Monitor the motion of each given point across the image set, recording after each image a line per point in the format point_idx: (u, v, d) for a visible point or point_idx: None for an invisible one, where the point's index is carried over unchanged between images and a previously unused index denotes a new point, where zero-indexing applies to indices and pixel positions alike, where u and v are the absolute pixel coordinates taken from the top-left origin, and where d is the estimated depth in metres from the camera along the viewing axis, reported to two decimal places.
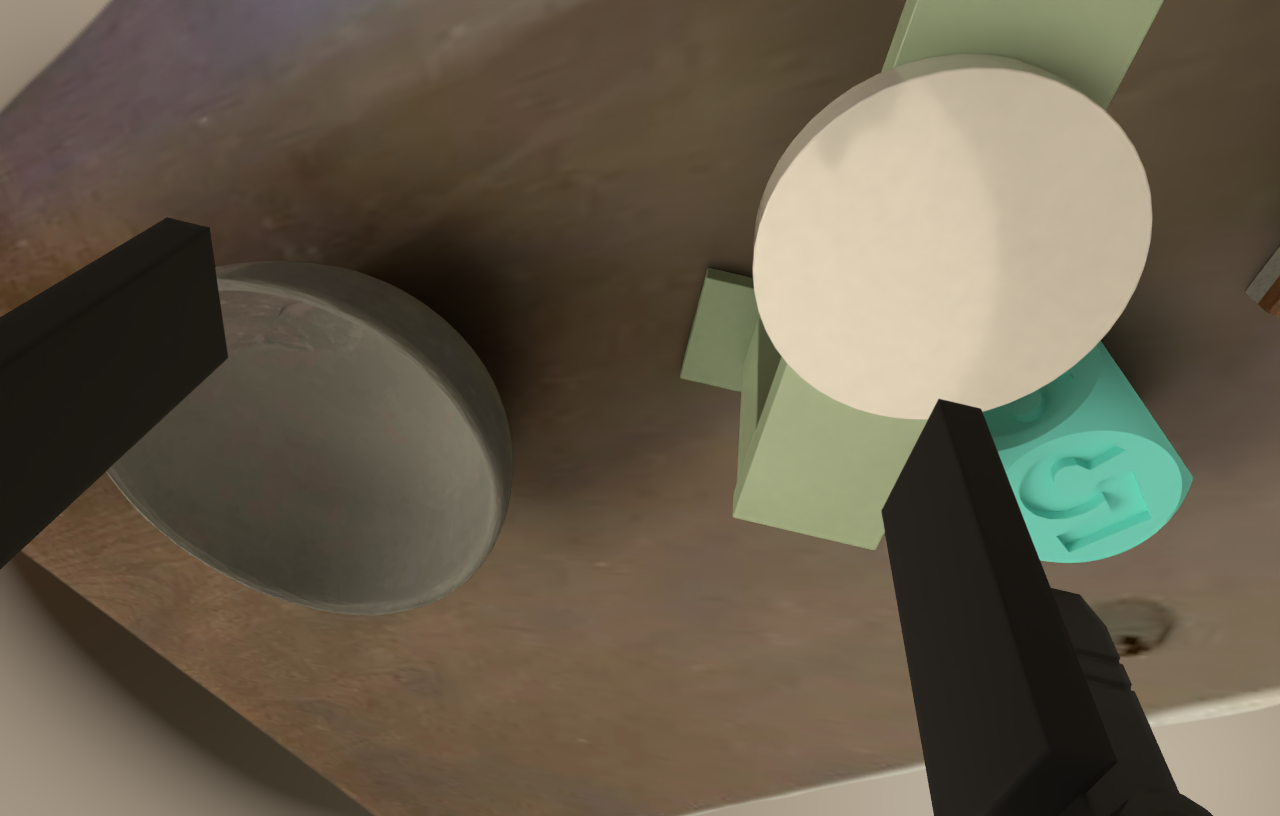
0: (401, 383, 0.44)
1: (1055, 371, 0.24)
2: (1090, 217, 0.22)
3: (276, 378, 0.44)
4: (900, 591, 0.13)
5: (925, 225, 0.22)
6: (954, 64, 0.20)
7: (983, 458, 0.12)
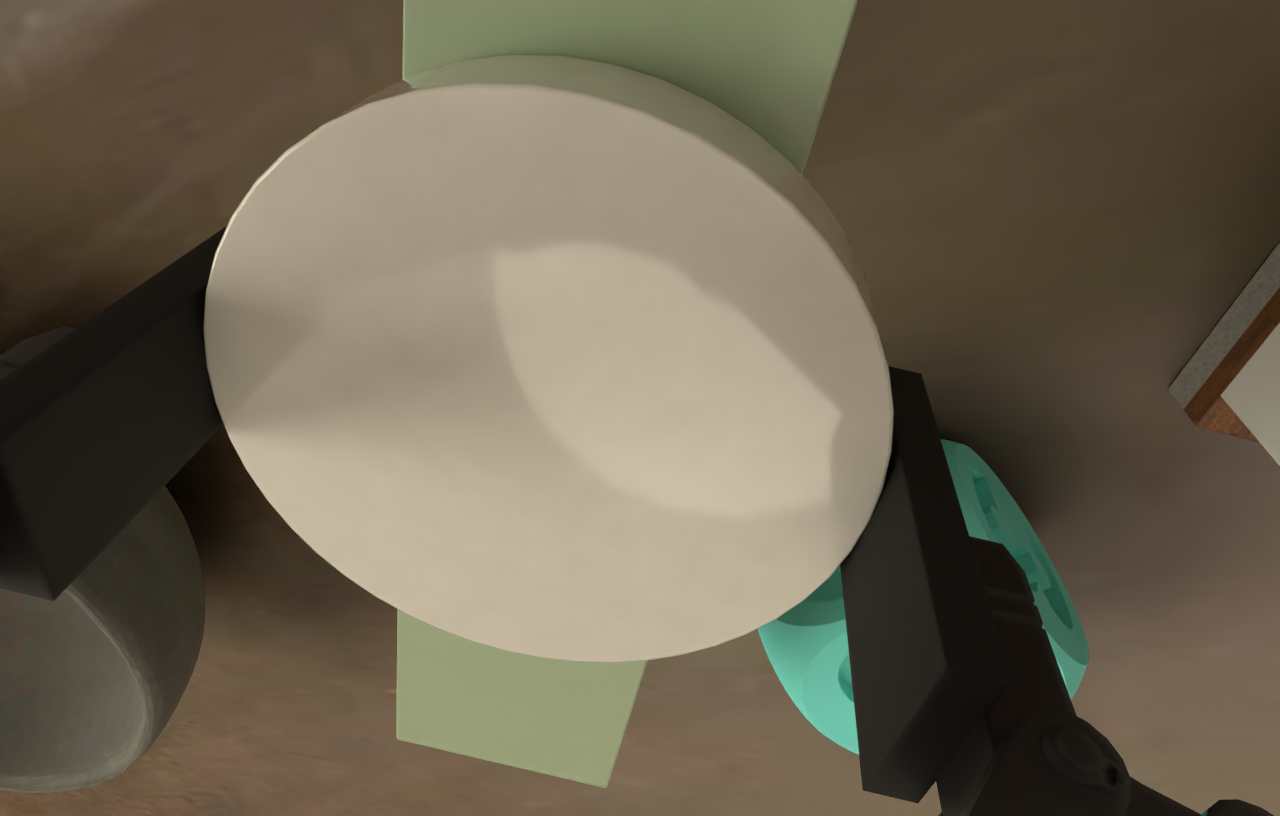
0: None
1: (775, 606, 0.14)
2: (773, 369, 0.11)
3: None
4: None
5: (485, 373, 0.12)
6: (460, 76, 0.10)
7: (917, 418, 0.13)
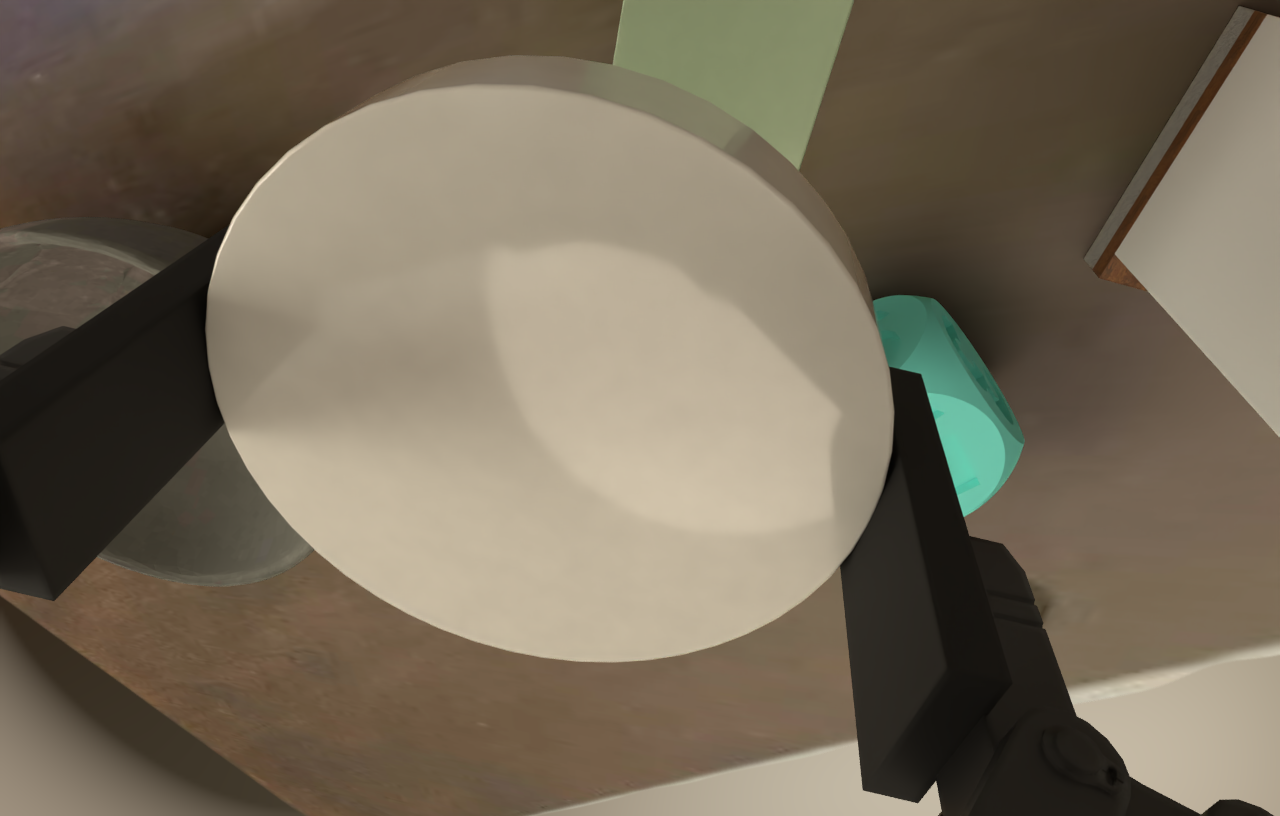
0: None
1: (776, 606, 0.14)
2: (774, 369, 0.11)
3: None
4: None
5: (486, 374, 0.12)
6: (462, 77, 0.10)
7: (917, 418, 0.13)
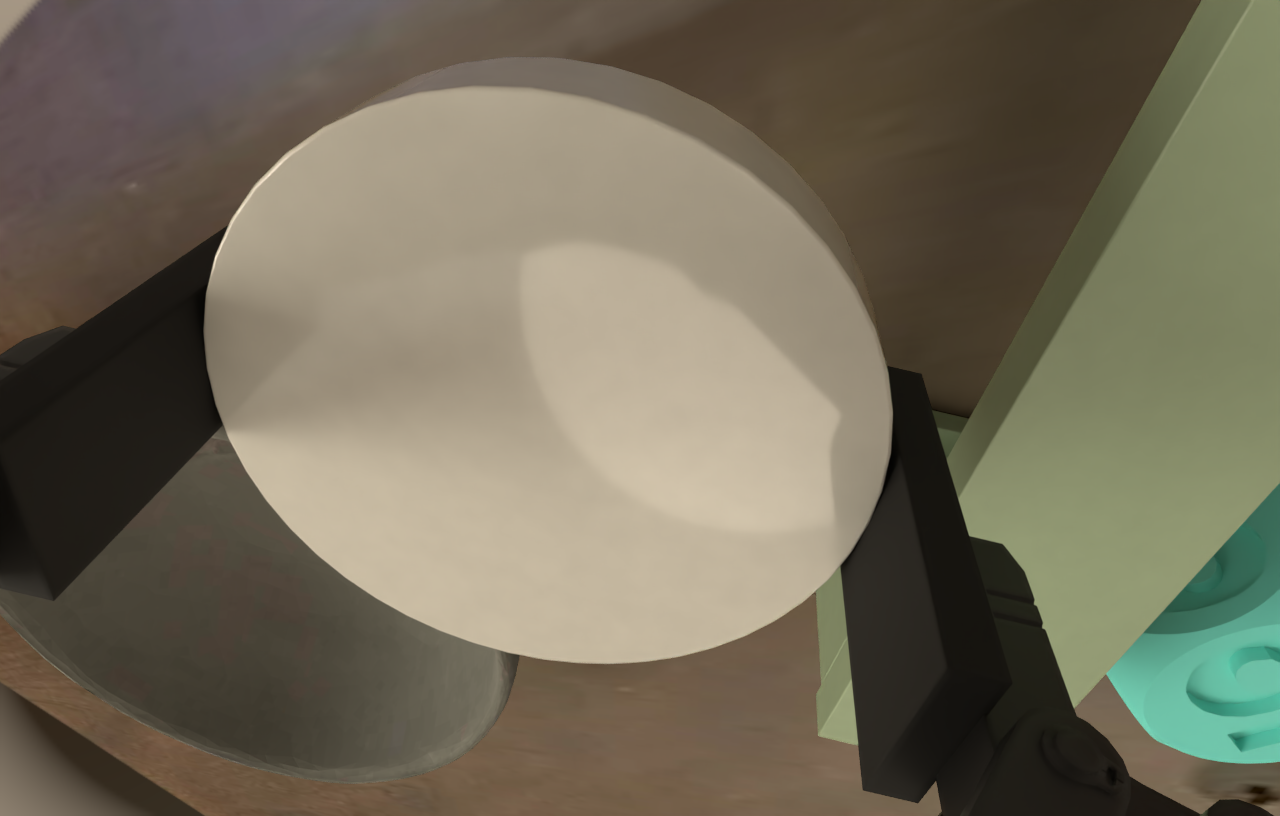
0: None
1: (775, 607, 0.14)
2: (772, 371, 0.11)
3: (233, 490, 0.36)
4: None
5: (484, 376, 0.12)
6: (460, 79, 0.10)
7: (917, 418, 0.13)
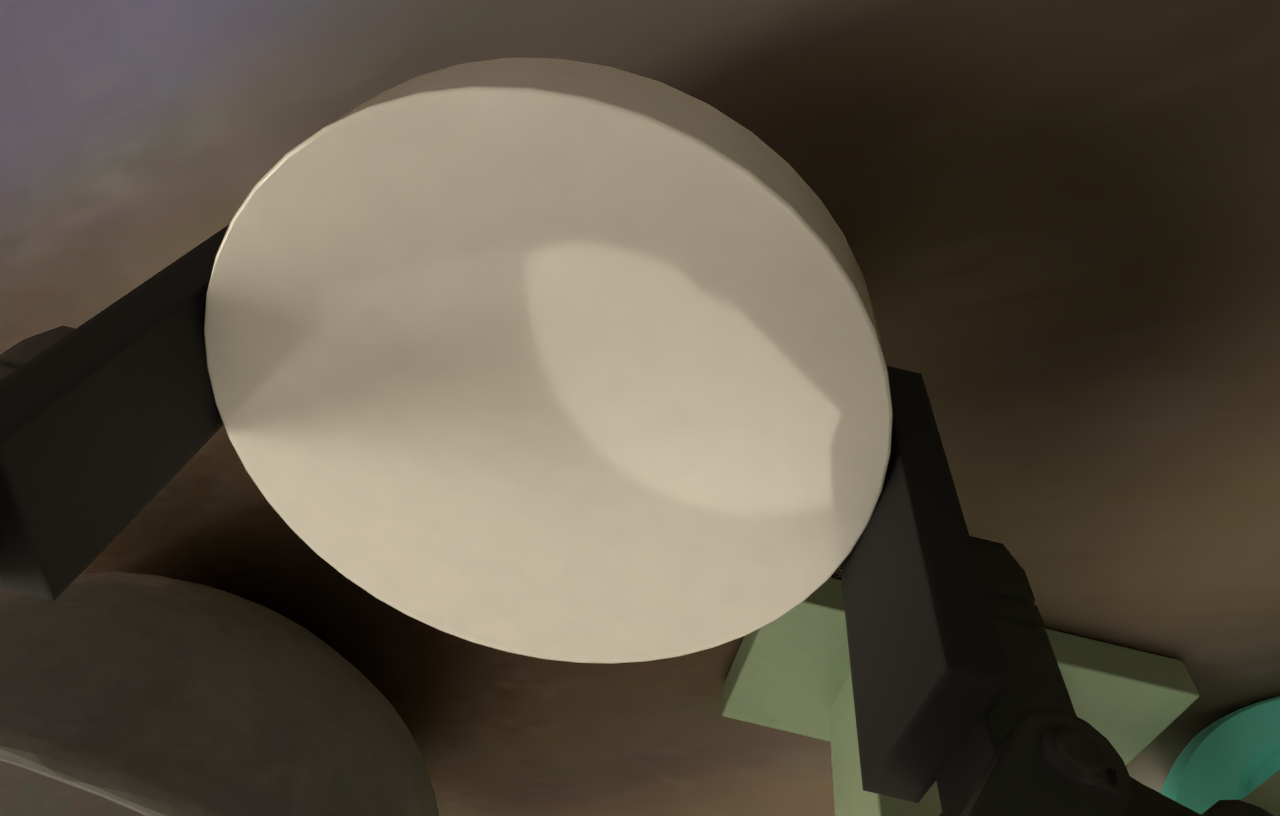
0: None
1: (775, 607, 0.14)
2: (772, 371, 0.11)
3: None
4: None
5: (484, 375, 0.12)
6: (460, 79, 0.10)
7: (917, 418, 0.13)
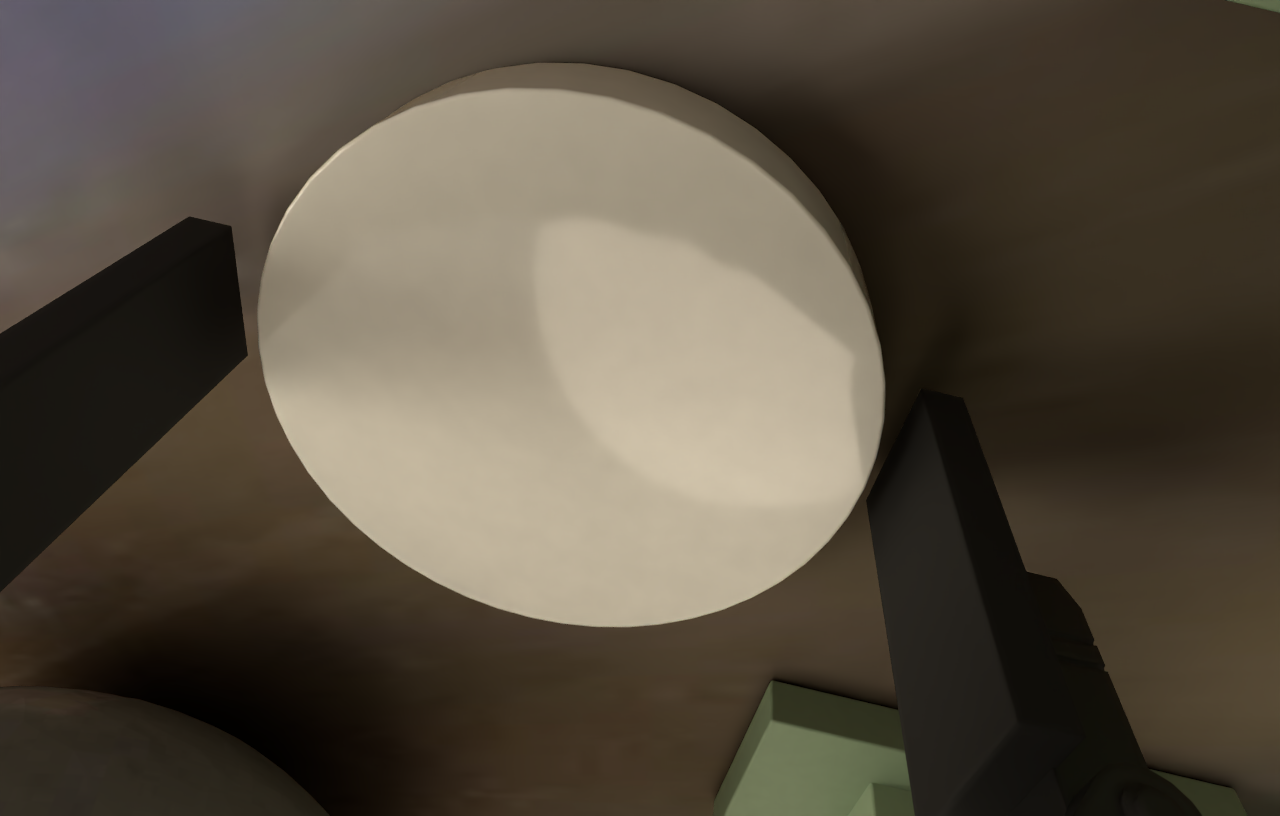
0: None
1: (778, 570, 0.15)
2: (776, 345, 0.12)
3: None
4: (883, 577, 0.13)
5: (513, 352, 0.13)
6: (495, 82, 0.11)
7: (963, 446, 0.12)
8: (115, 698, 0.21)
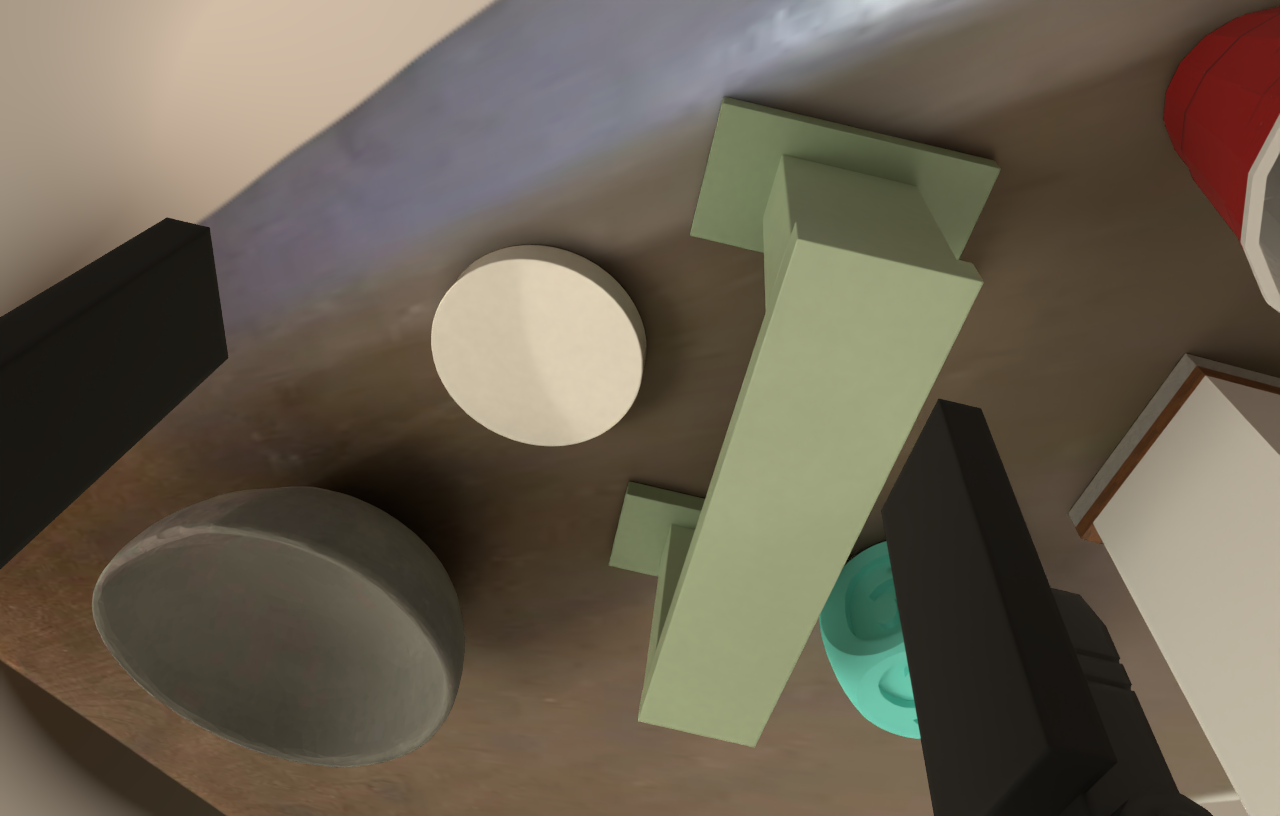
0: None
1: (616, 417, 0.42)
2: (604, 333, 0.39)
3: (261, 558, 0.51)
4: (901, 590, 0.13)
5: (519, 336, 0.40)
6: (515, 254, 0.38)
7: (982, 458, 0.12)
8: None
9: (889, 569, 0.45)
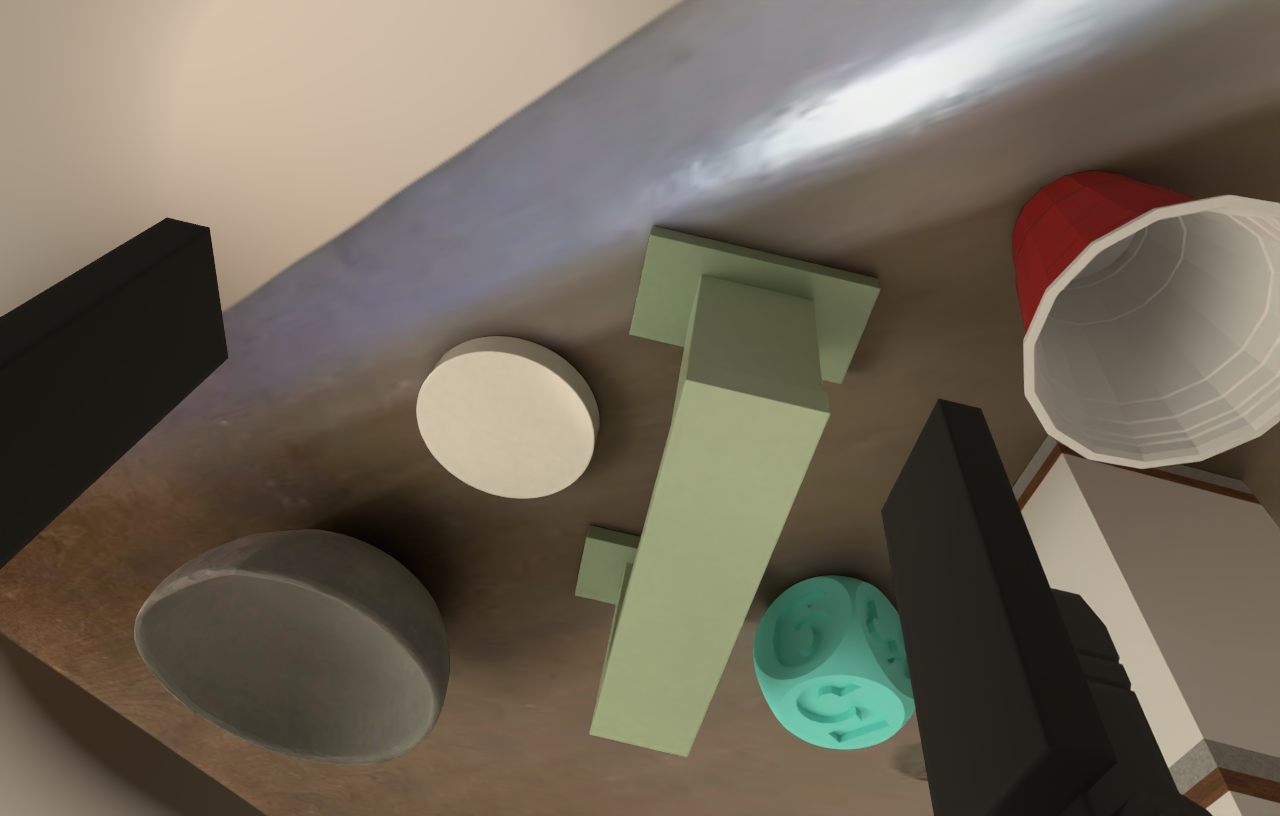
0: None
1: (574, 476, 0.49)
2: (561, 410, 0.46)
3: (276, 585, 0.59)
4: (900, 590, 0.13)
5: (490, 411, 0.47)
6: (484, 346, 0.45)
7: (983, 458, 0.12)
8: None
9: (812, 603, 0.52)
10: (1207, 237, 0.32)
